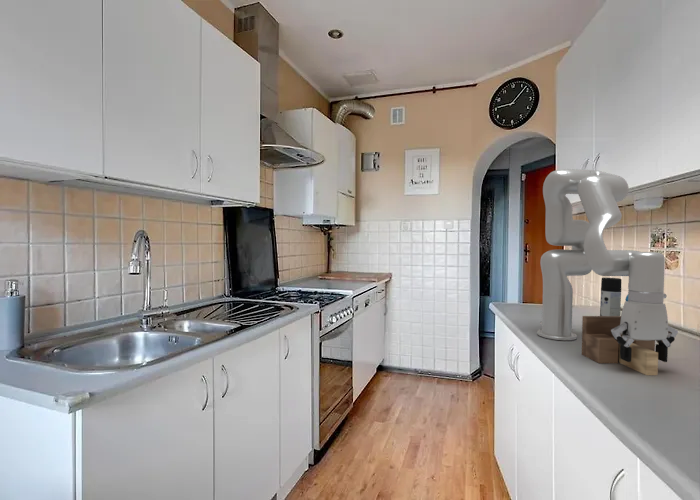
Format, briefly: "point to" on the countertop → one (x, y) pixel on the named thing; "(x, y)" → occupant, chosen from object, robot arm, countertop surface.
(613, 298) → the spray can
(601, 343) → the wooden two-prong bracket
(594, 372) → the countertop surface
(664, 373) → the countertop surface
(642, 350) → the silver and tan rail
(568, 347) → the countertop surface
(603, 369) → the countertop surface
